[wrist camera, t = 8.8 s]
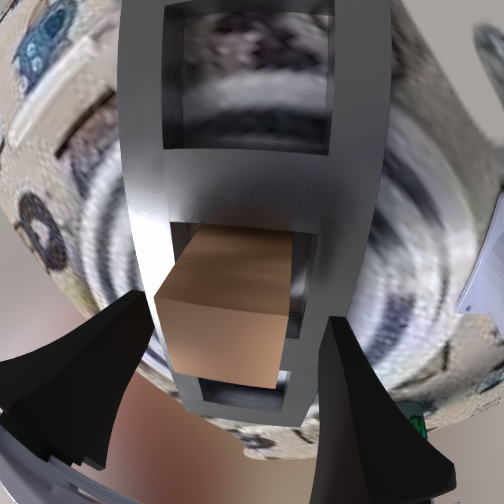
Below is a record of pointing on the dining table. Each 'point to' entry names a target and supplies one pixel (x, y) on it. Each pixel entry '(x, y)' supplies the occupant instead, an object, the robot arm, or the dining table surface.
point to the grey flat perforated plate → (256, 179)
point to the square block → (228, 304)
